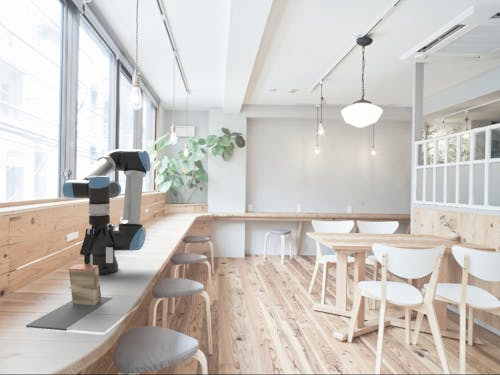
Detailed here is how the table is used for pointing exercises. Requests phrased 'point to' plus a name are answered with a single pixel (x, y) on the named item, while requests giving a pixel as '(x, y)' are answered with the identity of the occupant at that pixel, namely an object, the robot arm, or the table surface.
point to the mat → (66, 315)
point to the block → (85, 284)
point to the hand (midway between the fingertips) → (99, 267)
